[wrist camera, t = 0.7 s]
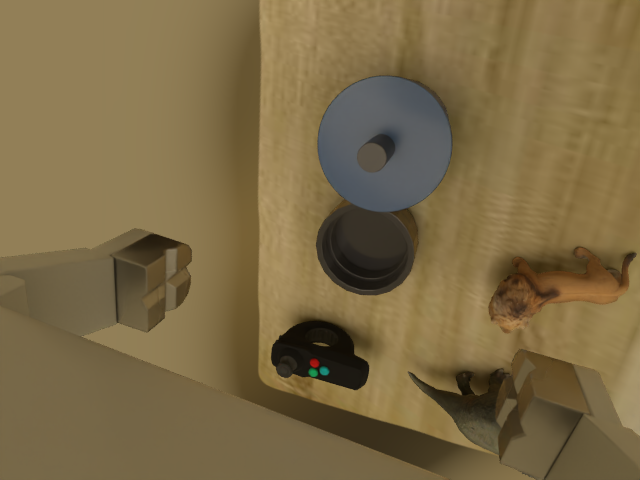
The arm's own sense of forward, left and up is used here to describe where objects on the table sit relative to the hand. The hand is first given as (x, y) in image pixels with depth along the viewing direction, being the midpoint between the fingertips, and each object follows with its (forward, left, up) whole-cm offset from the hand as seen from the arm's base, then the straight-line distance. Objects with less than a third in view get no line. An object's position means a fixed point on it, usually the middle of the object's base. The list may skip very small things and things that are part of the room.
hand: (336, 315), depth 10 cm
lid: (+2, -4, -30) cm, 30 cm away
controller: (+30, -6, -39) cm, 50 cm away
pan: (+14, -4, -39) cm, 42 cm away
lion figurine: (+13, +16, -39) cm, 44 cm away
